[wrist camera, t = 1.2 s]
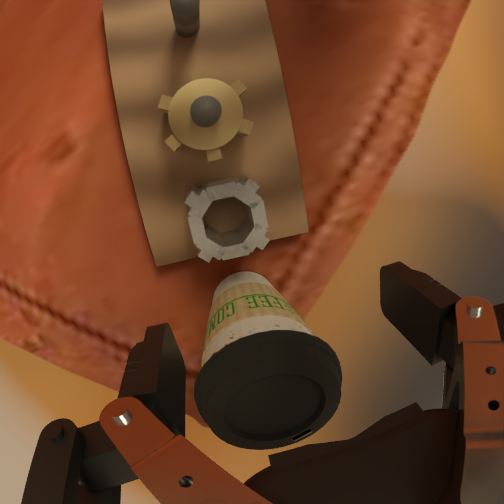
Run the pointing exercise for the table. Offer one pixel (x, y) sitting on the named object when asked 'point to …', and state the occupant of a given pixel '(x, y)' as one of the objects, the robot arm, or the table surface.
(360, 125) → the table surface
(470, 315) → the robot arm
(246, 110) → the gear board
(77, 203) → the table surface
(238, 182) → the steel gear
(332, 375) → the coffee cup
